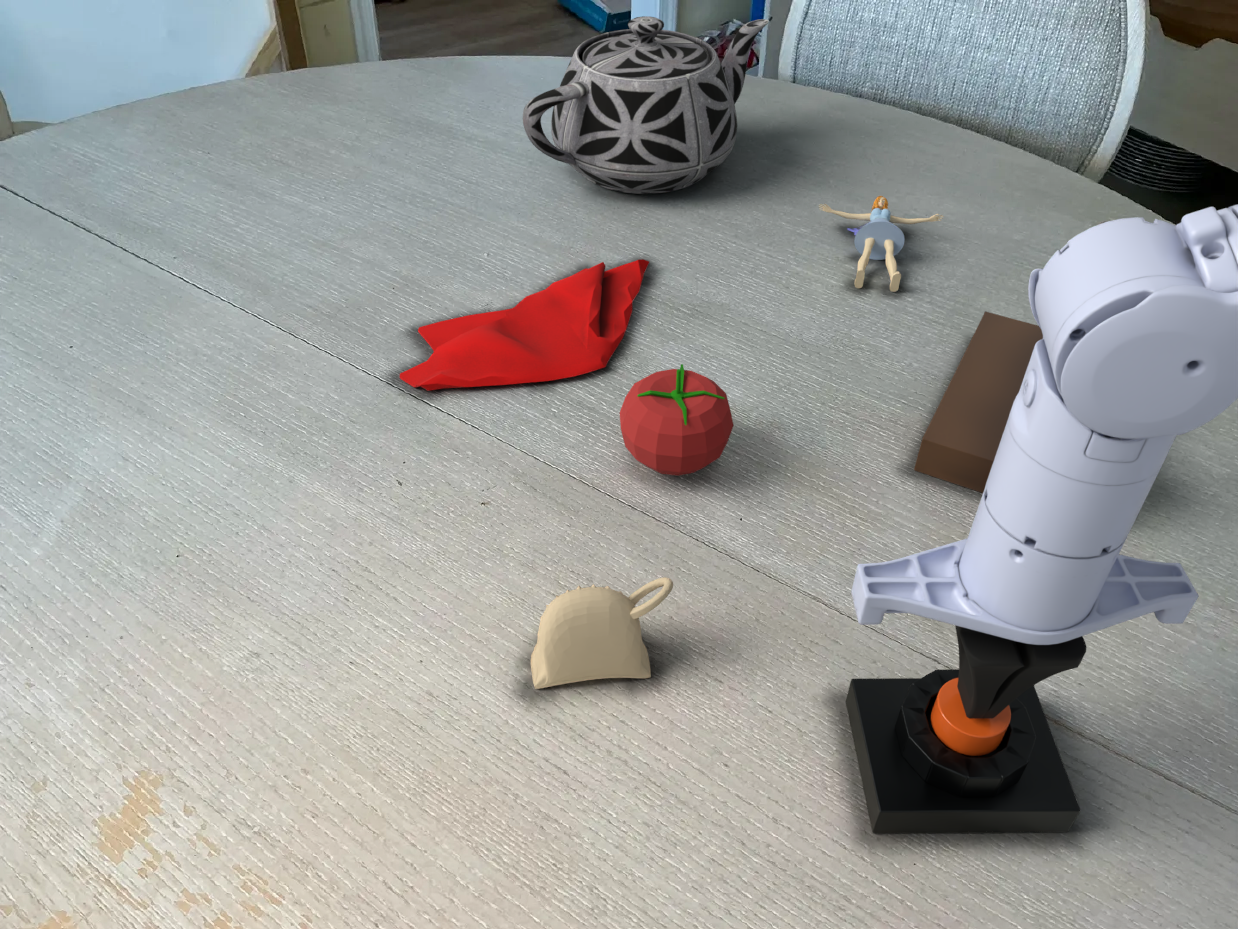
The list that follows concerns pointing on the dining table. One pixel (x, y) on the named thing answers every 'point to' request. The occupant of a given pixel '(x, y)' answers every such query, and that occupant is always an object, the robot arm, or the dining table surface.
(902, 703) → the button box
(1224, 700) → the dining table surface
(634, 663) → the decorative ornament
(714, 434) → the tomato
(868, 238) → the fairy figurine
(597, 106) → the teapot
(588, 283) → the cloth
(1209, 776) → the dining table surface
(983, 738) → the button
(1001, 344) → the knob panel
